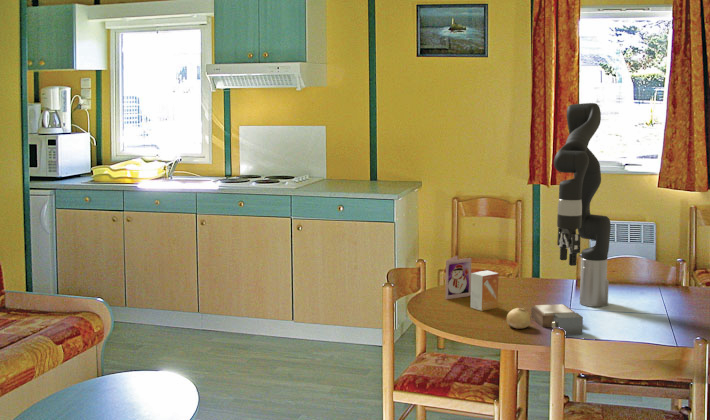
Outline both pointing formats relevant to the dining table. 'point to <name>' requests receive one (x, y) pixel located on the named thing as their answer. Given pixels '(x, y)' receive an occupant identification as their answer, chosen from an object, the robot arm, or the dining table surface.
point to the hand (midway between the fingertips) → (567, 262)
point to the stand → (547, 313)
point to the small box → (484, 290)
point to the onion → (518, 318)
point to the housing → (568, 323)
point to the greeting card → (458, 277)
